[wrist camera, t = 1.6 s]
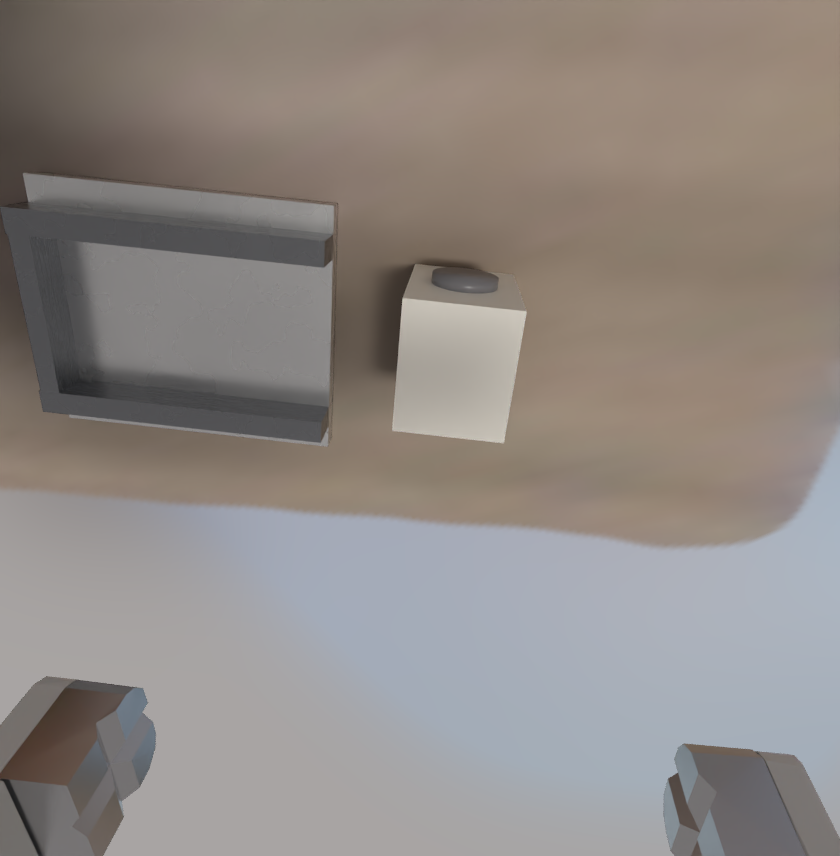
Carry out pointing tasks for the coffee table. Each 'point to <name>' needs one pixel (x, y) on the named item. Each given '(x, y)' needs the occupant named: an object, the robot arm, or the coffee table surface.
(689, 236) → the coffee table surface
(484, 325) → the cream rectangular block
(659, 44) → the coffee table surface
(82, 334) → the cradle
